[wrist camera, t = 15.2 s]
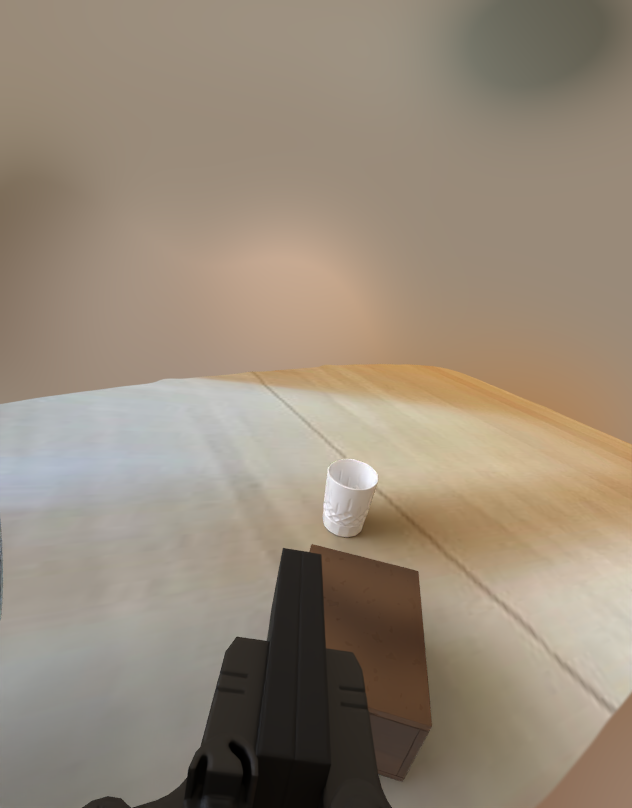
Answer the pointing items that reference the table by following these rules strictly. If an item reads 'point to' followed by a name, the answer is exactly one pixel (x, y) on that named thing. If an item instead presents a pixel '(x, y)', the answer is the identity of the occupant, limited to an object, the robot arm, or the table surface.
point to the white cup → (348, 496)
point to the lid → (379, 631)
